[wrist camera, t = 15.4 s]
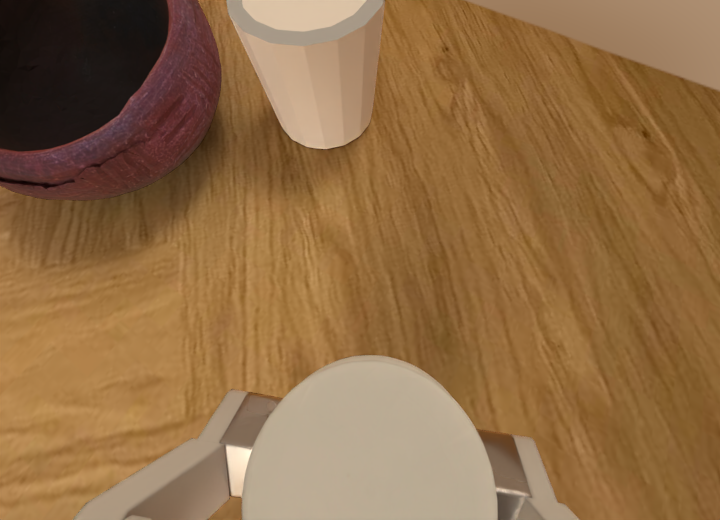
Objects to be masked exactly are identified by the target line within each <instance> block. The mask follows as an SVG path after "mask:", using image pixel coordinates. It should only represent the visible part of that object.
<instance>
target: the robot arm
mask: <svg viewBox="0 0 720 520" xmlns="http://www.w3.org/2000/svg"><path fill="white" fill-rule="evenodd" d="M282 399H283V398H279V397H274V396H269V395H263V394H258V393H253V392H246V391H240V390H235V389H231V390H230V391H229V392H228V393H227V394H226V395H225V397H224V398H223V400H222V401H221V403H220V404H219V406H218V407H217V409H216V411H215V412H214V414H213V415H212V417H211V418H210V420H209V421H208V423H207V425H206V426H205V428H204V429H203V431H202V432H201V434H200V435H199V437H198V438H197V439H193V438H191V439H190V440H188V441H186V442H185V443H183V444H181V445H180V446H178V447H176V448H175V449H173V450H172V451H170V452H168V453H167V454H165V455H163V456H162V457H160V458H159V459H157V460H155V461H154V462H152V463H150V464H149V465H147V466H146V467H144V468H142V469H141V470H139V471H137V472H136V473H134V474H133V475H131V476H129V477H128V478H126V479H124V480H123V481H121V482H120V483H118V484H116V485H115V486H113V487H111V488H110V489H108V490H107V491H105V492H103V493H102V494H100V495H98V496H97V497H95V498H93V499H92V500H90V501H89V502H87V503H86V504H85V505H84V506H83V507H82V509H81V510H80V511H79V512H78V514H77V515H76V516H75V517H74V518H73V520H207V519H208V518H209V517H211V516H212V515H213V514H214V513H215V512H216V511H217V510H218V509H219V508H220V507H221V506H222V505H223V504H224V503H225V502H227V501H228V500H229V499H230V496H233V497H239V498H242V492H243V484H244V477H245V472H246V468H247V464H248V461H249V458H250V454H251V451H252V448H253V446H254V443H255V441H256V438H257V436H258V434H259V432H260V431H261V429H262V427H263V425H264V423H265V422H266V420H267V418H268V417H269V415H270V414H271V413H272V411H273V410H274V409H275V407H276V406H277V405H278V404H279V403H280V401H281V400H282ZM476 430H477V432H478V434H479V436H480V438H481V440H482V442H483V444H484V447H485V449H486V452H487V454H488V457H489V461H490V464H491V467H492V471H493V477H494V482H495V487H496V494H497V502H498V503H497V507H498V520H579V518H578V517H577V516H576V515H575V514H574V513H573V512H572V511H571V510H570V509H569V508H568V507H567V506H566V505H565V504H562V503H558V502H557V499H556V496H555V494H554V491H553V488H552V486H551V483H550V481H549V478H548V475H547V473H546V470H545V467H544V465H543V462H542V460H541V457H540V454H539V452H538V449H537V446H536V444H535V441H534V440H533V439H532V438H531V437H525V436H518V435H512V434H510V435H509V434H506V433H499V432H493V431H486V430H479V429H476Z"/></svg>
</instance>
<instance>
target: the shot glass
mask: <svg viewBox="0 0 720 520" xmlns="http://www.w3.org/2000/svg"><path fill="white" fill-rule="evenodd" d="M226 1H227V8H228V14H229V16H230V18H231V21H232V23H233V25H234V27H235V29H236V31H237V33H238V35H239V38H240V40H241V42H242V44H243V46H244V48H245V50H246V52H247V54H248V57H249V59H250V61H251V63H252V65H253V67H254V69H255V71H256V74H257V76H258V78H259V80H260V82H261V84H262V86H263V88H264V90H265V93H266V95H267V97H268V99H269V101H270V103H271V105H272V107H273V110H274V112H275V114H276V116H277V118H278V120H279V122H280V124H281V126H282V128H283V129H284V131H285V132H286V133H287V134H288V136H289V137H290V138H291V139H292V140H294V141H296V142H298V143H300V144H302V145H304V146H306V147H310V148H318V149H330V148H334V147H339V146H344V145H346V144H348V143H349V142H351V141H353V140H354V139H356V138H358V137H359V136H360V135H361V134H362V133H363V131H364V130H365V129H366V128H367V126H368V125H369V124H370V120H371V115H372V110H373V102H374V93H375V84H376V76H377V67H378V58H379V50H380V41H381V32H382V24H383V15H384V6H385V0H226Z"/></svg>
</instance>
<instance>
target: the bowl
mask: <svg viewBox="0 0 720 520" xmlns="http://www.w3.org/2000/svg"><path fill="white" fill-rule="evenodd" d="M220 89H221V64H220V59H219V54H218V48H217V45H216V42H215V39H214V36H213V33H212V31H211V28H210V25H209V23H208V21H207V19H206V17H205V15H204V13H203V11H202V9H201V7H200V5H199V3H198V1H197V0H0V186H2V187H4V188H6V189H9V190H11V191H13V192H16V193H20V194H24V195H28V196H32V197H36V198H42V199H53V200H96V199H104V198H110V197H115V196H118V195H122V194H125V193H128V192H132V191H135V190H138V189H140V188H143V187H145V186H148V185H150V184H152V183H154V182H156V181H157V180H159V179H160V178H162V177H164V176H165V175H167V174H168V173H170V172H171V171H173V170H174V169H175V168H177V167H178V166H179V165H180V164H182V163H183V162H184V161H185V160H186V159H187V158H188V157H189V156H190V155H191V154H192V153H193V152H194V151H195V150H196V148H197V147H198V146H199V145H200V143H201V142H202V140H203V138H204V137H205V135H206V133H207V132H208V130H209V128H210V125H211V122H212V120H213V117H214V114H215V111H216V108H217V105H218V101H219V96H220Z"/></svg>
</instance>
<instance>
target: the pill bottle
mask: <svg viewBox="0 0 720 520" xmlns="http://www.w3.org/2000/svg"><path fill="white" fill-rule="evenodd" d="M497 503H498V502H497V494H496V487H495V482H494V477H493V471H492V467H491V464H490V461H489V457H488V454H487V452H486V449H485V447H484V444H483V442H482V440H481V438H480V436H479V434H478V432H477V430H476V428H475V427H474V425H473V423H472V421H471V420H470V419H469V417H468V416H467V414H466V413H465V412H464V410H463V409H462V408H461V407H460V405H459V404H458V403H457V402H456V401H455V400H454V399H453V397H452V396H451V395H450V394H449V393H448V392H447V390H446V389H445V388H444V387H443V386H442V385H441V384H439V383H438V382H437V381H436V380H435V379H434V378H432V377H431V376H430V375H429V374H427V373H426V372H424V371H423V370H421V369H419V368H418V367H416V366H414V365H412V364H410V363H407V362H405V361H402V360H399V359H396V358H392V357H387V356H380V355H360V356H352V357H348V358H344V359H340V360H337V361H335V362H333V363H330V364H328V365H326V366H324V367H322V368H320V369H319V370H317V371H315V372H314V373H313V374H311V375H310V376H308V377H307V378H306V379H304V380H303V381H302V382H301V383H300V384H298V385H297V386H296V387H294V388H293V389H292V390H291V391H290V392H289V393H288V394H287V395H286V396H285V397H284V398H283V399H282V400H281V401H280V403H279V404H278V405H277V406H276V407H275V409H274V410H273V411H272V413H271V414H270V415H269V417H268V418H267V420H266V422H265V423H264V425H263V427H262V429H261V431H260V432H259V434H258V436H257V438H256V441H255V443H254V446H253V448H252V451H251V454H250V458H249V461H248V464H247V468H246V472H245V477H244V484H243V492H242V520H498V507H497Z"/></svg>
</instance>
